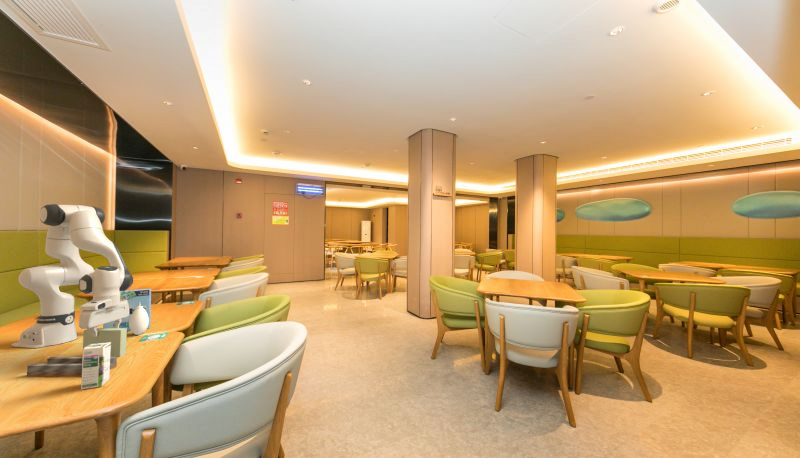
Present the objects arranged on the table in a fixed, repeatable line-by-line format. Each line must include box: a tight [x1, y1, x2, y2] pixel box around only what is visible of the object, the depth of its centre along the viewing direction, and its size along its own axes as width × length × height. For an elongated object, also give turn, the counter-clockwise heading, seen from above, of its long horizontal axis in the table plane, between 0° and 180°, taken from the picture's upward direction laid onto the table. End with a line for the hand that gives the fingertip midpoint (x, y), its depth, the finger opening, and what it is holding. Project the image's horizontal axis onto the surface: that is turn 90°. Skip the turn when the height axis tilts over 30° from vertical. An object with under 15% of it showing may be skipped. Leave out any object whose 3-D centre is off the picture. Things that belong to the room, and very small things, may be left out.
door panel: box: [82, 327, 128, 358], centre depth 131 cm, size 16×3×12 cm, turn 93°
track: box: [26, 356, 118, 377], centre depth 116 cm, size 26×8×4 cm, turn 93°
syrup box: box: [80, 342, 111, 391], centre depth 106 cm, size 6×6×14 cm
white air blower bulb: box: [129, 303, 149, 336], centre depth 159 cm, size 8×8×18 cm
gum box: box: [102, 288, 152, 332], centre depth 165 cm, size 20×5×23 cm, turn 123°
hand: (105, 332), depth 131 cm, fingers open, 8 cm apart
